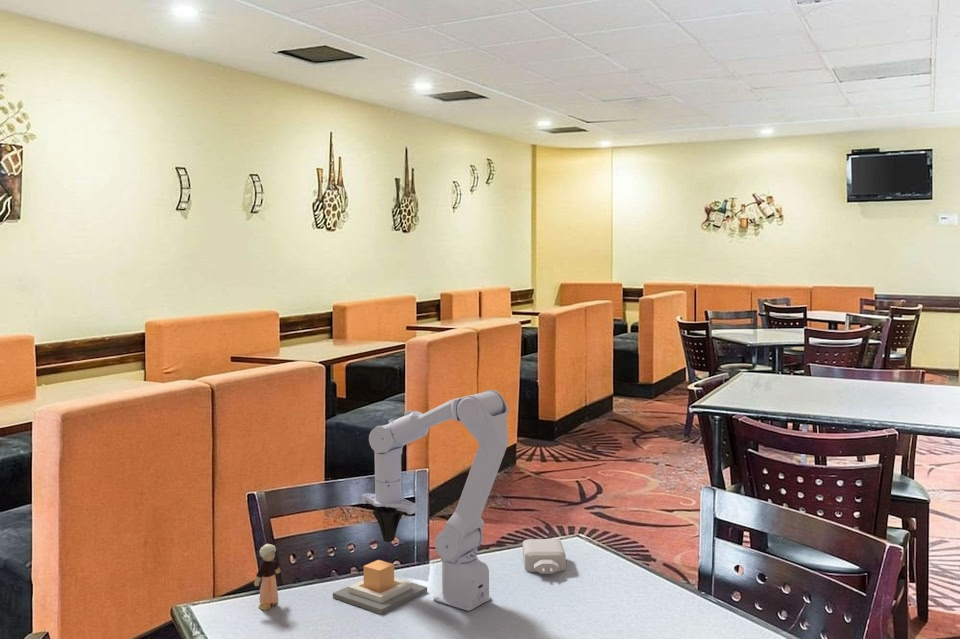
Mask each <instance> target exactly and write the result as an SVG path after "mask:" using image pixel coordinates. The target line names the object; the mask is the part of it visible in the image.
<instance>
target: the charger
mask: <svg viewBox="0 0 960 639" xmlns="http://www.w3.org/2000/svg"><path fill="white" fill-rule="evenodd" d="M566 556H567V555H566V551H565V549H564V546H563V543H562V541H561V540H560V539H557V538H536V539H535V538H529V539H528V538H527V539H525V540H523V541H522V559H523V564H524V570H525V571H526V572H529V573H540V574H541V575H543V574H545V575H546V574H548V575H549V574H550V575H551V574H554V573H560V572H564V571H565V570H566V569H567V566H566V562H567V560H566V559H567V557H566Z"/></svg>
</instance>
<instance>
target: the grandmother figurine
mask: <svg viewBox="0 0 960 639" xmlns="http://www.w3.org/2000/svg"><path fill="white" fill-rule="evenodd" d="M276 551H277V547H276V546H275V545H273V544H270V543H266V544H264V545H263V546H261V547H260V550H259V555H260V557H261V559H262V560H263V562H261V564H260V566H259V569H258V571H257V573H256V574H255V581H254V582H253V584H254V587H258V586H260V587H259V604H258V609H260V610H262V611H268V610H270V609H271V608H272V606H276V605H278V604H279V592H278V586H277V579H276V574H280V573H281V569H280V565H279V562H278V561H277V560H275V557H276ZM260 582H261V584H260Z"/></svg>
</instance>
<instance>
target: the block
mask: <svg viewBox="0 0 960 639" xmlns="http://www.w3.org/2000/svg"><path fill="white" fill-rule="evenodd" d="M362 567H363V580H364V588H366V589H369V590H373V591H376V592H379V593H382V592H384V591H386V590H389V589H391V588H393V587H394V577H395V564H394V563H392V562H387V561H384V560H381V559H377V560H374V561H372V562H369V563H368V564H365V565H363V566H362Z"/></svg>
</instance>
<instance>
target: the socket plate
mask: <svg viewBox="0 0 960 639" xmlns="http://www.w3.org/2000/svg"><path fill="white" fill-rule="evenodd" d="M427 592H428V586H424V585H421V584H418V583H414V582H411V581H408V580H405V579H402V578H397V577H395V576H394V587H393V588H391V589H389V590H386V591H384V592H382V593H379V592H376V591H373V590H369V589H366V588H364V579H362V580H359V581H358V582H355V583H353V584H351V585H348V586H345V587H344V588H341V589H339V590H337V591H334V592H332V598H333V599H335V600H338V601H341V602H344V603H347V604H350V605H353V606H355V607H358V608H361V609H363V610H366V611H367V610H368V611H370V612H374V613H377V614H379V615H383V614H386V613H387V612H389V611H392V610H393V609H395V608H397V607H399V606H401V605H403V604H405V603H407V602H409V601H411V600H413V598H414V599H416V598H418V597H420V596H422V595H424V594H426V593H427ZM419 595H420V596H419ZM417 596H418V597H417ZM415 597H416V598H415Z"/></svg>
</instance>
